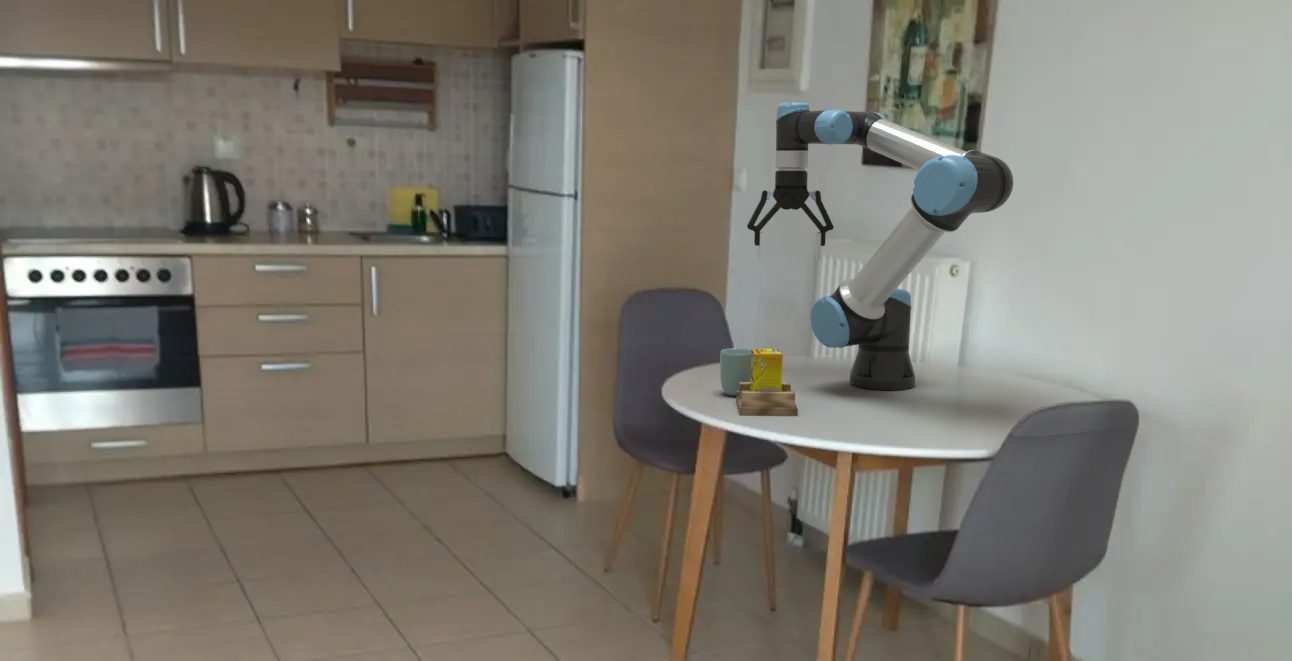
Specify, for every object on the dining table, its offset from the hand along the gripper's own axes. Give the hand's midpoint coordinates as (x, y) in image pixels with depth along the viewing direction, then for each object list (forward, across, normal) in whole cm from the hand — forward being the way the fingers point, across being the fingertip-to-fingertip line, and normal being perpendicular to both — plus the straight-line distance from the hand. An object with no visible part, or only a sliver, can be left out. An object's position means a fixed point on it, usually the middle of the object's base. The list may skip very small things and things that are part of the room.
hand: (789, 259), depth 259 cm
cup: (+29, +13, +19) cm, 37 cm away
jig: (+29, +8, +32) cm, 44 cm away
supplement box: (+27, +8, +32) cm, 43 cm away
